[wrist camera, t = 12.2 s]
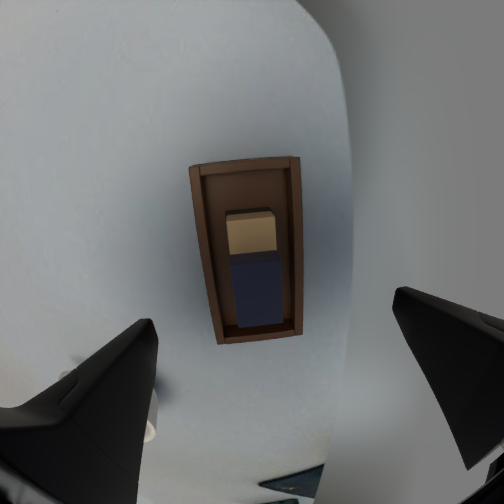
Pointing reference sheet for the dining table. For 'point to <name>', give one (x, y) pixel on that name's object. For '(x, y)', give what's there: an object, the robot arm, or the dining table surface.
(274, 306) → the stacked boxes
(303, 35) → the dining table surface
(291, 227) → the tray
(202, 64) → the dining table surface
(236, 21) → the dining table surface
